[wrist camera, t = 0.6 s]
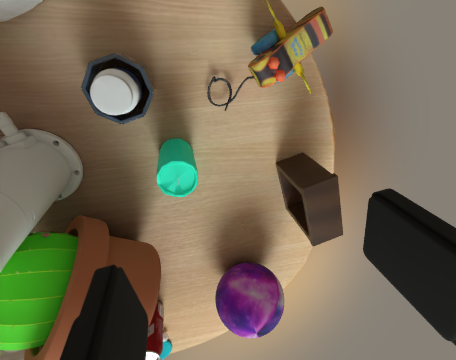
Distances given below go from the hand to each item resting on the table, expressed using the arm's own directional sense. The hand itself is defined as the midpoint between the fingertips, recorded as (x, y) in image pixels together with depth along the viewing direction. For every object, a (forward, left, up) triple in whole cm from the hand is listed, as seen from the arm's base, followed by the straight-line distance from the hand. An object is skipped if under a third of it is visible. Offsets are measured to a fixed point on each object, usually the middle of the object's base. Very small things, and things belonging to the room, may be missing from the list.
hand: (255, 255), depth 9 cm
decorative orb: (+43, -3, -37) cm, 57 cm away
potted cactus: (+28, -21, -28) cm, 45 cm away
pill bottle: (-5, -9, -37) cm, 38 cm away
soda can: (+43, -27, -37) cm, 62 cm away
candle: (+8, -6, -37) cm, 38 cm away
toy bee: (-1, +14, -37) cm, 39 cm away
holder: (-5, -9, -37) cm, 38 cm away
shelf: (+23, +15, -37) cm, 46 cm away
